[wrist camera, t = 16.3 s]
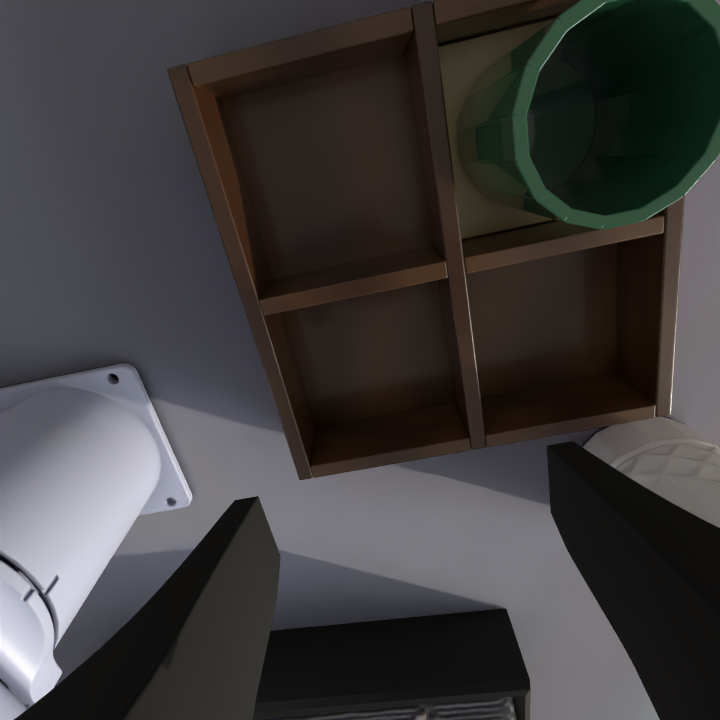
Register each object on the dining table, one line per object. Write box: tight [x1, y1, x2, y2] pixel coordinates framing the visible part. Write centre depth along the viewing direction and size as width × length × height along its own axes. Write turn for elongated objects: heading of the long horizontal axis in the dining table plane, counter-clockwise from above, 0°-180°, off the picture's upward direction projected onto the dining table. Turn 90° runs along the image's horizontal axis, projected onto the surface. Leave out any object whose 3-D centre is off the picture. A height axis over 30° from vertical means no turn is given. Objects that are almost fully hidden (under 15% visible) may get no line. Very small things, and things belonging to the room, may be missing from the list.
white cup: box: [583, 416, 720, 528], centre depth 18 cm, size 8×8×10 cm
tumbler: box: [457, 0, 720, 230], centre depth 13 cm, size 5×5×6 cm
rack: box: [167, 0, 685, 480], centre depth 17 cm, size 15×15×4 cm
